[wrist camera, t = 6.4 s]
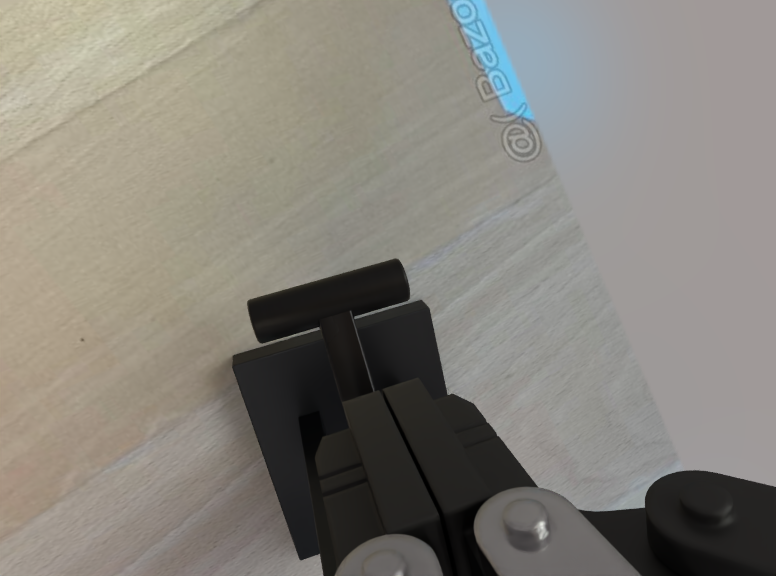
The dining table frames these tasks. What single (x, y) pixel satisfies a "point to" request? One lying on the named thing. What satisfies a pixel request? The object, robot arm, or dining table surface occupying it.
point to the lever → (333, 317)
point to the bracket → (325, 407)
